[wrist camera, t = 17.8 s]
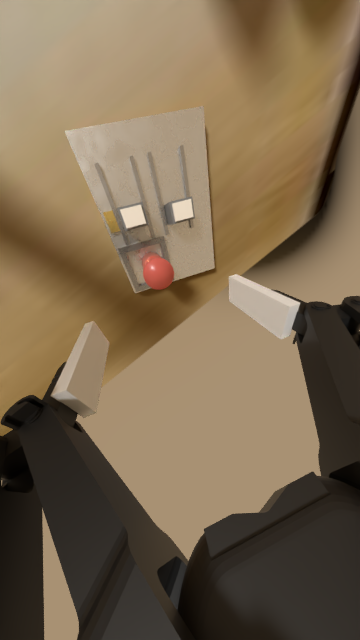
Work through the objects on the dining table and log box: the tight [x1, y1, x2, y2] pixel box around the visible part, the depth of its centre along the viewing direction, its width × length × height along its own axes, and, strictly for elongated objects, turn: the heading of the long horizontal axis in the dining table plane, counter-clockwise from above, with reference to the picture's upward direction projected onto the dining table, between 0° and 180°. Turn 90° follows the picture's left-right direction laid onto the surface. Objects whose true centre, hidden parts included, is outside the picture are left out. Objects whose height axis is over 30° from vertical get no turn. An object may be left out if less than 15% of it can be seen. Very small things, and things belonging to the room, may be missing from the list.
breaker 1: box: [117, 202, 149, 231], centre depth 24 cm, size 3×4×4 cm
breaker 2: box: [164, 196, 195, 225], centre depth 25 cm, size 3×4×4 cm
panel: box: [65, 106, 215, 293], centre depth 27 cm, size 24×20×3 cm
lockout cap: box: [142, 252, 174, 290], centre depth 27 cm, size 5×5×9 cm
